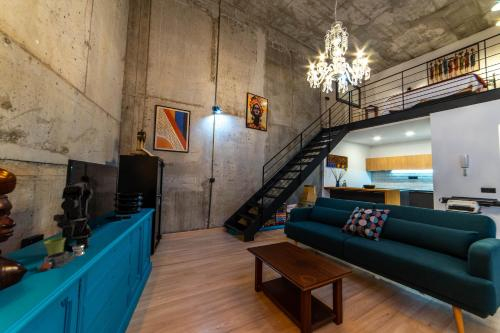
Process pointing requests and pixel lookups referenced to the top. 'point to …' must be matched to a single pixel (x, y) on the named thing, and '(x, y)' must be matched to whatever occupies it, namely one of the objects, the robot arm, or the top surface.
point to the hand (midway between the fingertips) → (75, 234)
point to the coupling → (78, 250)
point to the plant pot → (55, 245)
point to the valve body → (55, 260)
